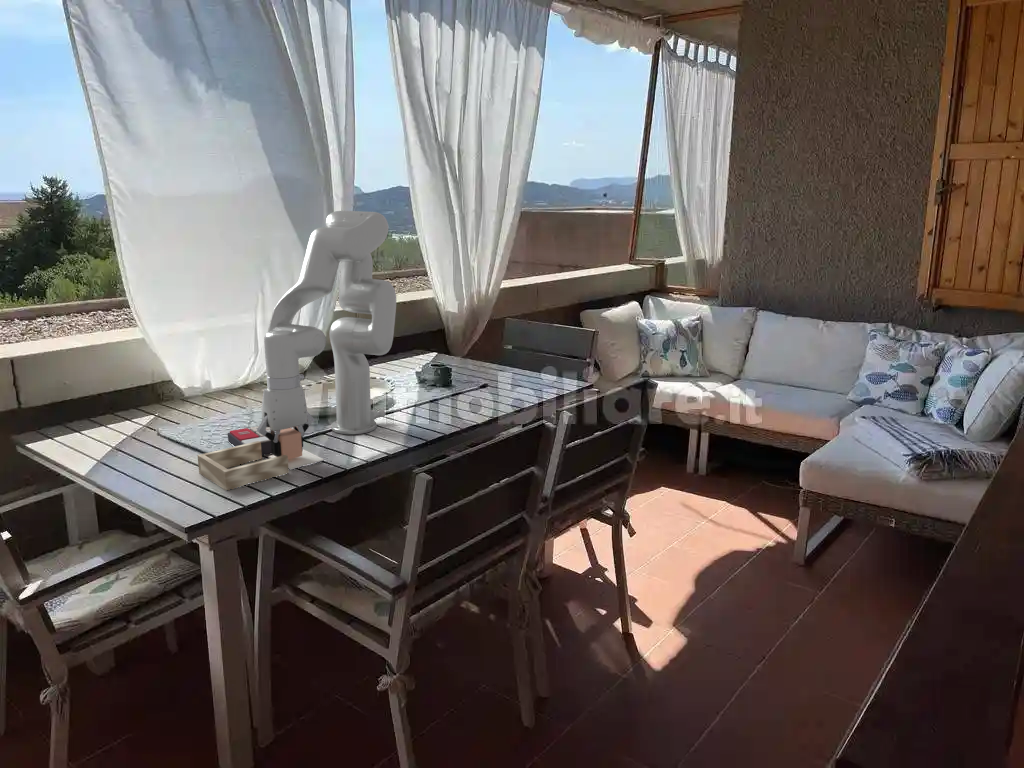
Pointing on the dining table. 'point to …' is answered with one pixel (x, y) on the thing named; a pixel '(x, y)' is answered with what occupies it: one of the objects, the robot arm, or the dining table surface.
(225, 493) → the dining table surface
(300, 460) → the mat
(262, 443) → the calculator
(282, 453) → the block
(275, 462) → the u-shaped frame
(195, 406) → the dining table surface
